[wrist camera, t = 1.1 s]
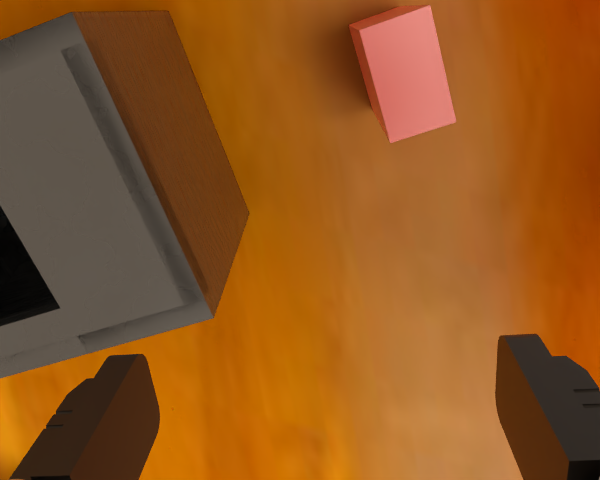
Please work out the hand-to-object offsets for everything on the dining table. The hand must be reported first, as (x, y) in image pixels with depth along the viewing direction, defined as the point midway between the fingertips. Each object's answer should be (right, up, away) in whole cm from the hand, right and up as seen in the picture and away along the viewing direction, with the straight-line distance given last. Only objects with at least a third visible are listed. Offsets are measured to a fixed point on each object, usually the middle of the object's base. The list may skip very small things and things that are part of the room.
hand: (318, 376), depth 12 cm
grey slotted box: (-14, +8, +22) cm, 28 cm away
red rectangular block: (+5, +14, +19) cm, 24 cm away
